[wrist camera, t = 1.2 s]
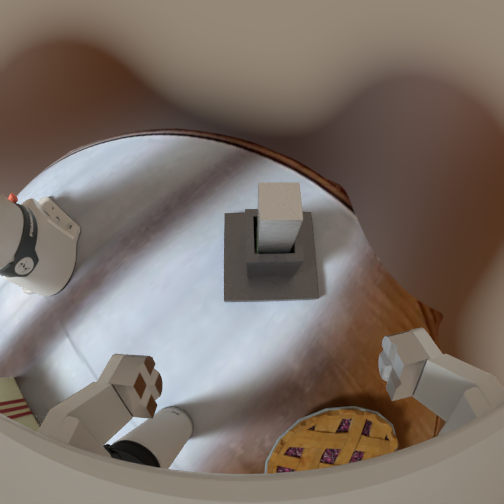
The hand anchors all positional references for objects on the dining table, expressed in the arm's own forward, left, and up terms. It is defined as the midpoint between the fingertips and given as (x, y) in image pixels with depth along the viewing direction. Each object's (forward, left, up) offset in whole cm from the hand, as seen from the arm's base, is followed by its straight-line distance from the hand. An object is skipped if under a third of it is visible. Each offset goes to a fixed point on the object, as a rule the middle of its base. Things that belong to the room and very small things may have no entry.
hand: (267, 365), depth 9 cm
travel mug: (0, -19, -33) cm, 38 cm away
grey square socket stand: (-8, +11, -33) cm, 36 cm away
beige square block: (-8, +11, -31) cm, 34 cm away
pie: (+23, -7, -33) cm, 41 cm away
